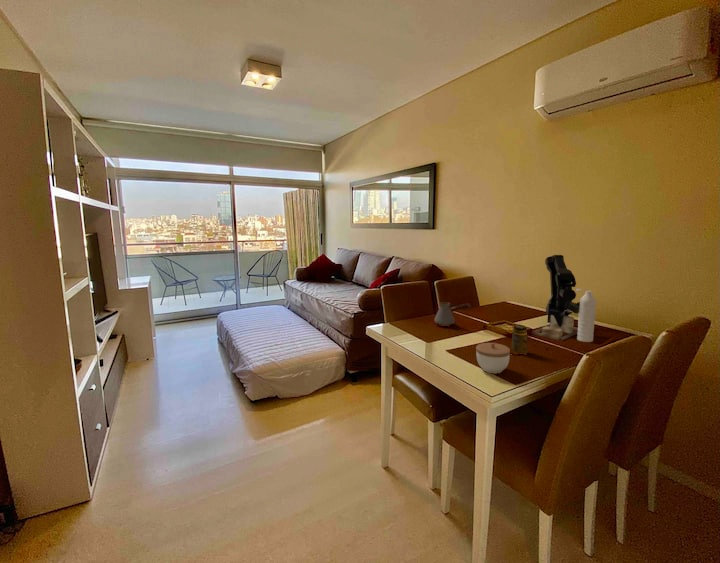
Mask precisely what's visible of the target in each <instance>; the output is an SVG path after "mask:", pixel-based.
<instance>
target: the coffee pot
mask: <svg viewBox="0 0 720 563" xmlns="http://www.w3.org/2000/svg"><path fill="white" fill-rule="evenodd" d="M438 304H439V307H438V308H439V309H438V311H437V313H436V315H435V317H434V318H433V319H434V320H433V321H434V323H438V324H443V325H448V324H452V325H454V323H455V322H456V320H455V318H454V315H453V313H452V311H451V310H455V309H458V308H463V307H466V306H468V308H470V303H469V302H467V303H462V304H460V305H455V306H453V307H450V306H451V303H450V302H447V301H440V302H439V303H438ZM438 324H437V325H438Z"/></svg>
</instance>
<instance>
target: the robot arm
mask: <svg viewBox="0 0 720 563" xmlns="http://www.w3.org/2000/svg"><path fill="white" fill-rule="evenodd" d="M564 259H565V258H564V255H563V254H554V255H551V256H548V257H546V258H545V261H544V264H545V265H546V266H545V267H546V270H547V271H548V272H549V279H550V280H549V282H550V298H549V299H548V302H547V304H546V307H545V313H546V314H547V322H546V323H549V324H550V319H551V315H553V316H554V318H555V319H556V322H557V324H558V326H559V327H561V326H562V322H563V317H565V316H570V315H571V314H577V315H579V307H580V306H579V305H580V301H578V302H577V303H576V302H573V301H574V300H575V299H576V297H577V293H576V290H574V289H573V288H575V287H576V285H577V281H576V280H577V279H576V277H575V275H574V274H573V272H572V270H570V269H568V268H567V265H566V263H565V260H564Z"/></svg>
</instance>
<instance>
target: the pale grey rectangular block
mask: <svg viewBox="0 0 720 563" xmlns="http://www.w3.org/2000/svg"><path fill="white" fill-rule="evenodd" d="M574 320H575V317H574V316H570V315H569V316H565V317H563V322H562V326H561V327H559V326H558V324H557V322H556V319H555V318H554V316H553V315H551V319H550V323H549V325H550V327H553V328H560V329H562V332H563V333H566V334H569V333H572V332H574V330H573V327H574V322H575V321H574Z"/></svg>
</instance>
